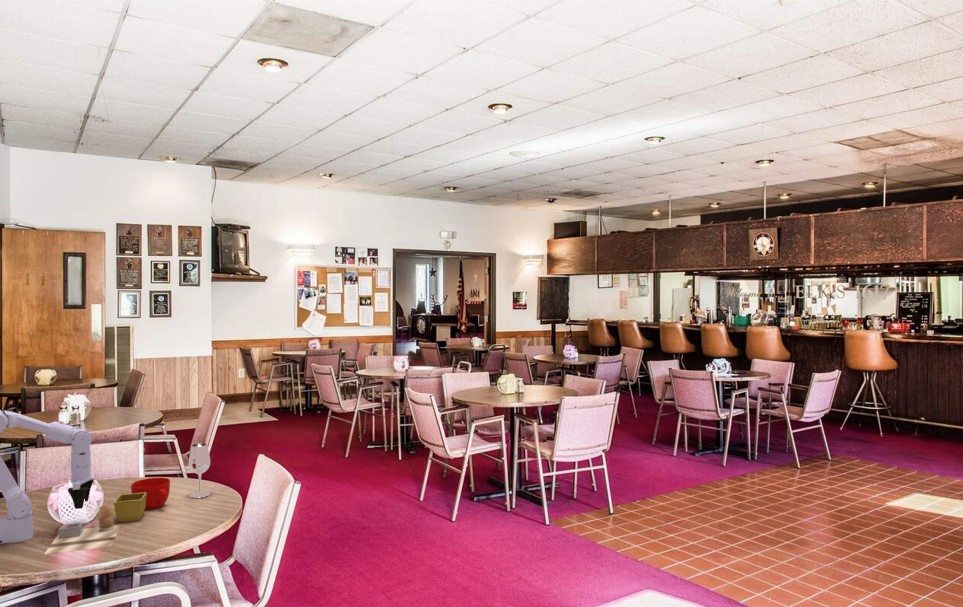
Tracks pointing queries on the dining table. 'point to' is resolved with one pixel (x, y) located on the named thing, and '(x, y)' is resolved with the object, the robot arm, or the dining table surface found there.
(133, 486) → the ceramic cup
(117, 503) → the flower pot
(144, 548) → the dining table surface
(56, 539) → the board
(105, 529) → the brown cylinder
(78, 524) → the box
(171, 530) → the dining table surface
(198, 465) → the wineglass
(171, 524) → the dining table surface
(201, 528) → the dining table surface
